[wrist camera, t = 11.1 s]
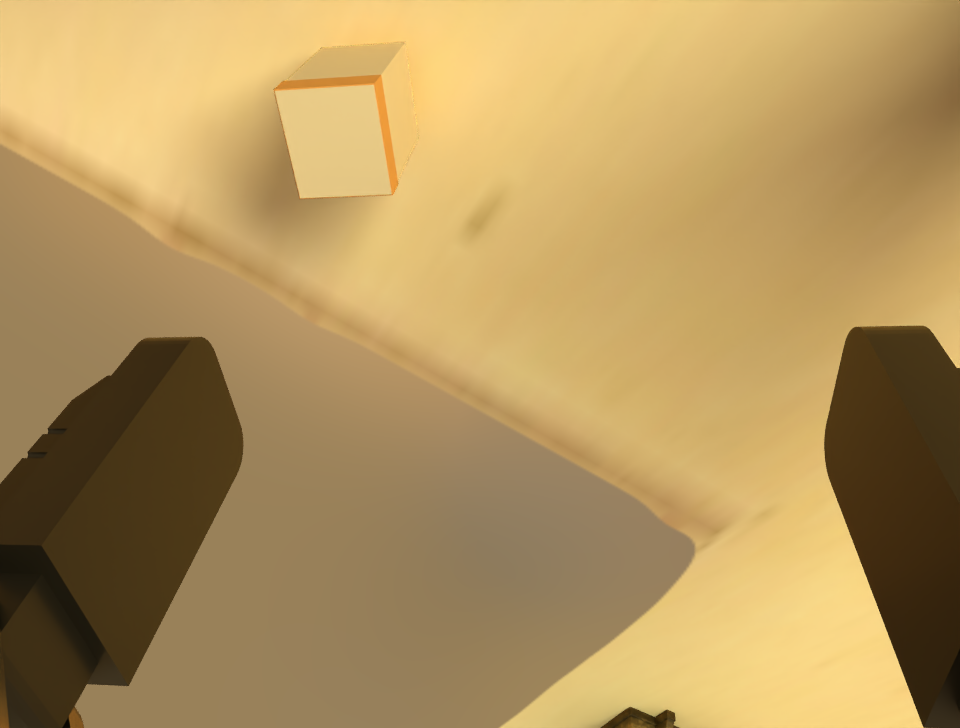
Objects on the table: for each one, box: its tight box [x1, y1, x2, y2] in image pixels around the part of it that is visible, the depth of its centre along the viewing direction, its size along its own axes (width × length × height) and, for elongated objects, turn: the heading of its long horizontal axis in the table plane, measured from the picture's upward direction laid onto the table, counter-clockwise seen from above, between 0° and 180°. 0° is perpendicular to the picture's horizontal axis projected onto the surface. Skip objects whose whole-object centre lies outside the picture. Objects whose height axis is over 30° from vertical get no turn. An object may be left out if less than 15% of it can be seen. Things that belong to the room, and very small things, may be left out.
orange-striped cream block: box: [274, 42, 419, 199], centre depth 34 cm, size 4×5×7 cm
